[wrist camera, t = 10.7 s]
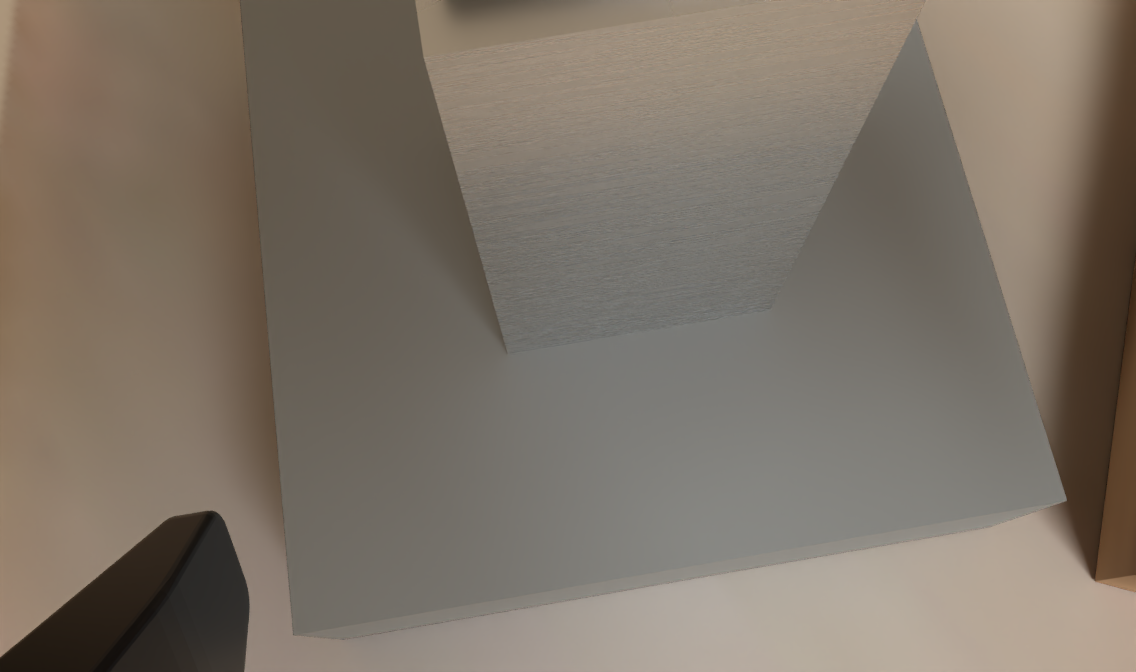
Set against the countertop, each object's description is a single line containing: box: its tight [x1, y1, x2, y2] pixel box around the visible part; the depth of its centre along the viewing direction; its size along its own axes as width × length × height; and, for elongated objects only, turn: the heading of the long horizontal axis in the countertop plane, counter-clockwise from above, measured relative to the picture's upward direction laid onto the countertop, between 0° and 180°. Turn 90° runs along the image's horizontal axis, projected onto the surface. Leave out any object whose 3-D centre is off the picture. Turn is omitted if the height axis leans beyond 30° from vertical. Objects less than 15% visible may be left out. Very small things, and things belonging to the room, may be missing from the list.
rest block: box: [240, 0, 1067, 640], centre depth 18 cm, size 11×11×3 cm
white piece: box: [415, 0, 926, 354], centre depth 12 cm, size 4×4×9 cm
